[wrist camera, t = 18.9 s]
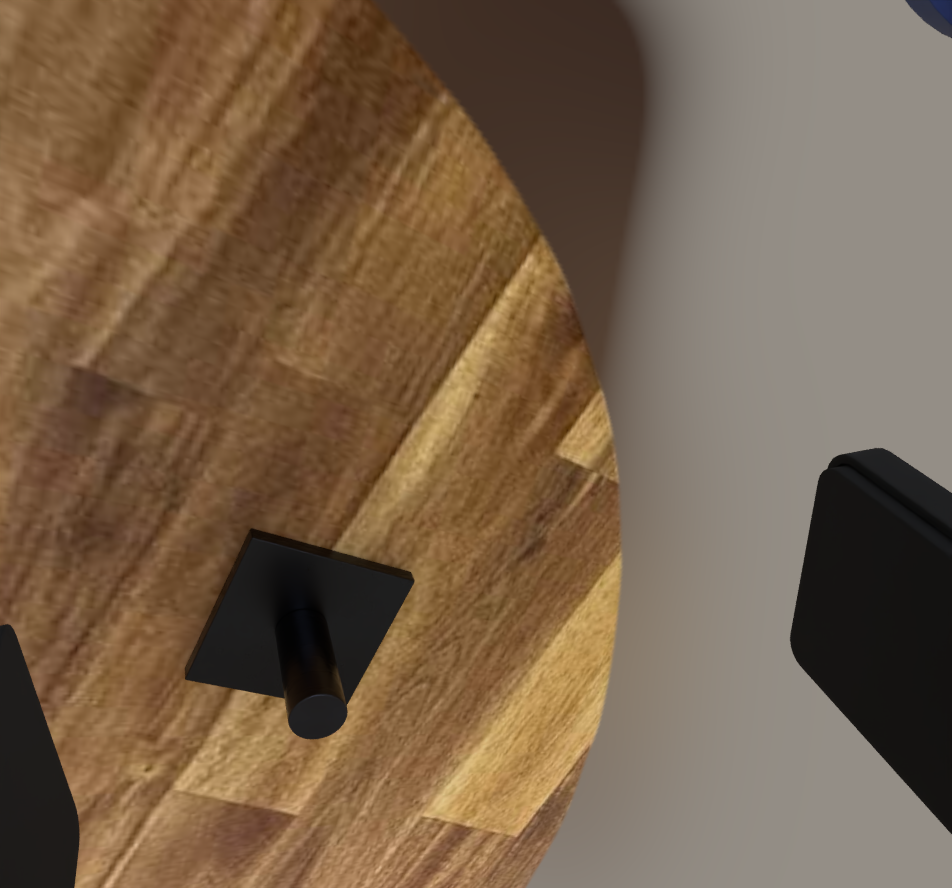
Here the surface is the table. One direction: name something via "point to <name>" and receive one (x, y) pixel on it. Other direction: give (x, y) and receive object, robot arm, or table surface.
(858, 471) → the robot arm
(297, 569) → the post
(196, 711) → the table surface
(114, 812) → the table surface
